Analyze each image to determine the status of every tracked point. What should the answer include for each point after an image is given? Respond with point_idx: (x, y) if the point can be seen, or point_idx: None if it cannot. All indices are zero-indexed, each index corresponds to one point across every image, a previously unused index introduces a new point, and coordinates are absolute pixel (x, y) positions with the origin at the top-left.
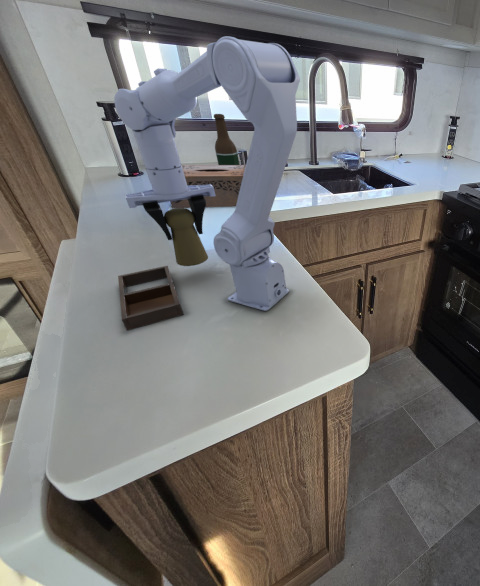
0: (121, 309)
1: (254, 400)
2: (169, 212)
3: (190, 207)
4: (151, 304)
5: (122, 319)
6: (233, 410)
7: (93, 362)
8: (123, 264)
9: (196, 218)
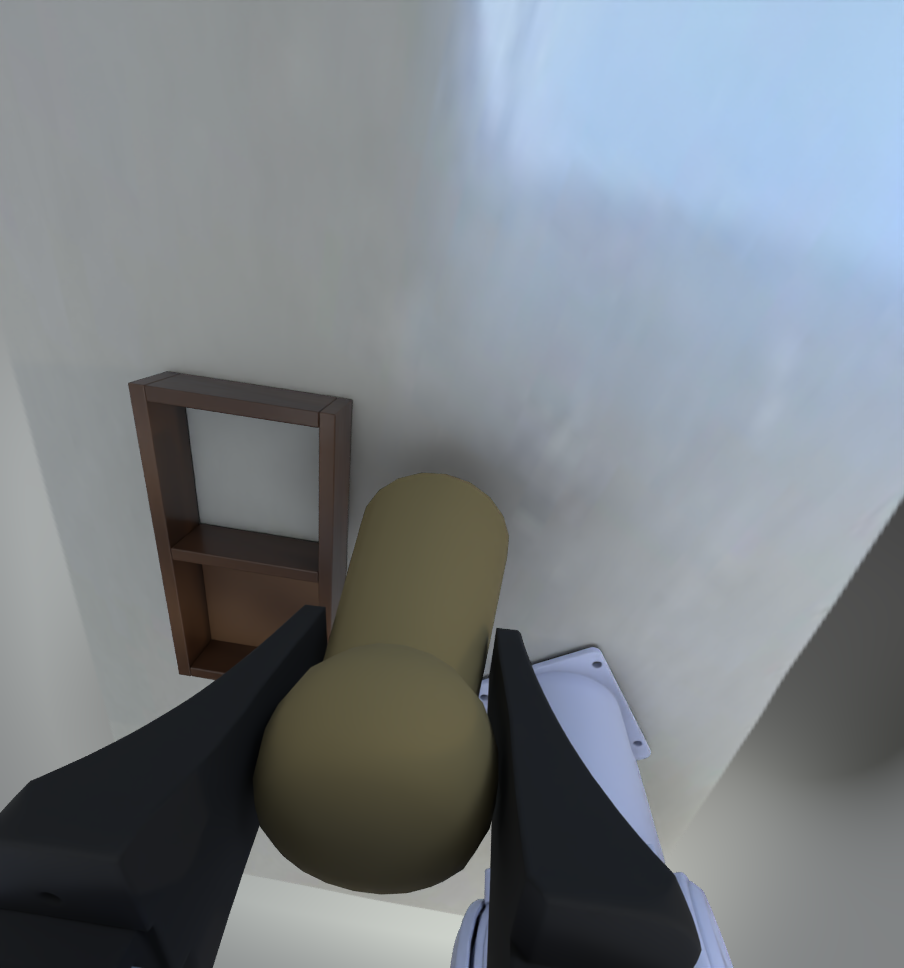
0: (172, 632)
1: (392, 898)
2: (289, 846)
3: (512, 785)
4: (263, 577)
5: (181, 674)
6: (359, 893)
7: (147, 697)
8: (141, 85)
9: (491, 830)
